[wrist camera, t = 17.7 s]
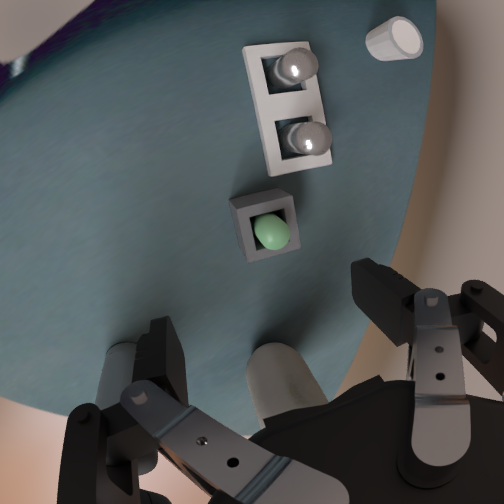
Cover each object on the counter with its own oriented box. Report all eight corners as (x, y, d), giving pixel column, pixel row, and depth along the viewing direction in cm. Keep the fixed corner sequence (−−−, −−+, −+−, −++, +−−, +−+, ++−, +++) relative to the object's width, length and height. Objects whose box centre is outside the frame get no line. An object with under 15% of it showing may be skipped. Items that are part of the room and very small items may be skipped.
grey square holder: (286, 234, 45) (300, 248, 39) (239, 247, 44) (248, 263, 38) (277, 187, 42) (292, 195, 37) (228, 199, 41) (236, 209, 36)
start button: (277, 230, 42) (292, 245, 36) (252, 237, 41) (263, 253, 36) (273, 205, 40) (287, 216, 35) (246, 212, 40) (257, 224, 35)
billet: (308, 149, 41) (334, 152, 34) (281, 154, 41) (303, 158, 33) (303, 121, 40) (329, 119, 32) (276, 126, 39) (297, 123, 32)
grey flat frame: (327, 163, 42) (332, 164, 41) (268, 175, 41) (271, 176, 40) (304, 44, 35) (308, 41, 34) (241, 49, 34) (244, 46, 33)
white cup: (382, 72, 39) (410, 66, 32) (354, 39, 36) (380, 28, 30) (402, 51, 38) (430, 45, 32) (377, 20, 35) (403, 9, 29)
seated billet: (297, 87, 38) (321, 77, 30) (269, 90, 37) (289, 80, 30) (291, 61, 36) (314, 46, 29) (263, 63, 36) (282, 48, 28)
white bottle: (300, 363, 55) (367, 485, 29) (248, 382, 54) (294, 514, 28) (289, 323, 51) (369, 458, 25) (232, 345, 50) (279, 495, 24)
